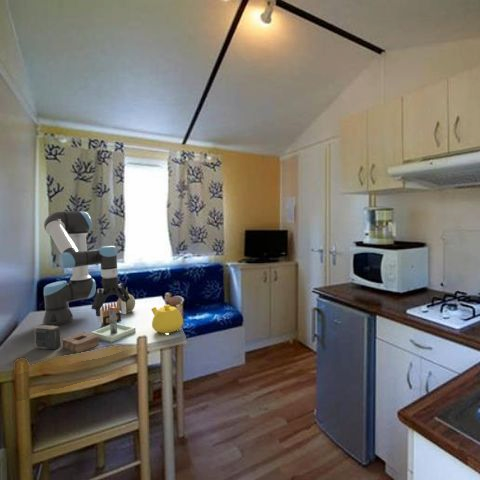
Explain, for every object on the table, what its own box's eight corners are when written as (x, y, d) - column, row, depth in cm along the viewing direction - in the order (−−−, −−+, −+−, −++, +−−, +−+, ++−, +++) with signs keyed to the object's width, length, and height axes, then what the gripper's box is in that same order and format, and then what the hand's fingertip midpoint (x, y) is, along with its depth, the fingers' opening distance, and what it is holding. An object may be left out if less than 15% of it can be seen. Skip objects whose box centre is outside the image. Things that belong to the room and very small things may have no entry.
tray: (91, 336, 145) (91, 331, 145) (115, 327, 157) (115, 322, 157) (111, 342, 137) (111, 337, 137) (135, 332, 149) (135, 327, 149)
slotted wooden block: (63, 347, 133) (62, 339, 133) (83, 339, 142) (83, 331, 142) (77, 353, 127) (77, 344, 127) (98, 344, 136) (98, 336, 136)
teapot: (141, 331, 150) (139, 305, 149) (165, 322, 163) (164, 298, 162) (165, 339, 138) (163, 312, 137) (189, 329, 151) (188, 303, 150)
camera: (63, 345, 136) (61, 325, 135) (52, 351, 130) (50, 330, 129) (44, 344, 139) (42, 323, 138) (32, 349, 133) (30, 328, 132)
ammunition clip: (103, 326, 159) (101, 305, 158) (101, 325, 160) (100, 304, 159) (121, 320, 168) (119, 300, 167) (119, 320, 169) (118, 300, 168)
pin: (109, 333, 147) (107, 308, 146) (114, 331, 149) (112, 306, 148) (113, 334, 145) (111, 309, 144) (118, 332, 148) (116, 307, 147)
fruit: (126, 316, 175) (124, 292, 174) (114, 313, 181) (112, 290, 180) (140, 311, 184) (138, 288, 183) (128, 308, 190) (127, 286, 189)
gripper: (90, 282, 132) (94, 327, 134) (135, 272, 154) (137, 311, 155) (81, 281, 136) (84, 324, 138) (125, 271, 158) (128, 309, 159)
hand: (112, 317), depth 147 cm, fingers open, 13 cm apart
